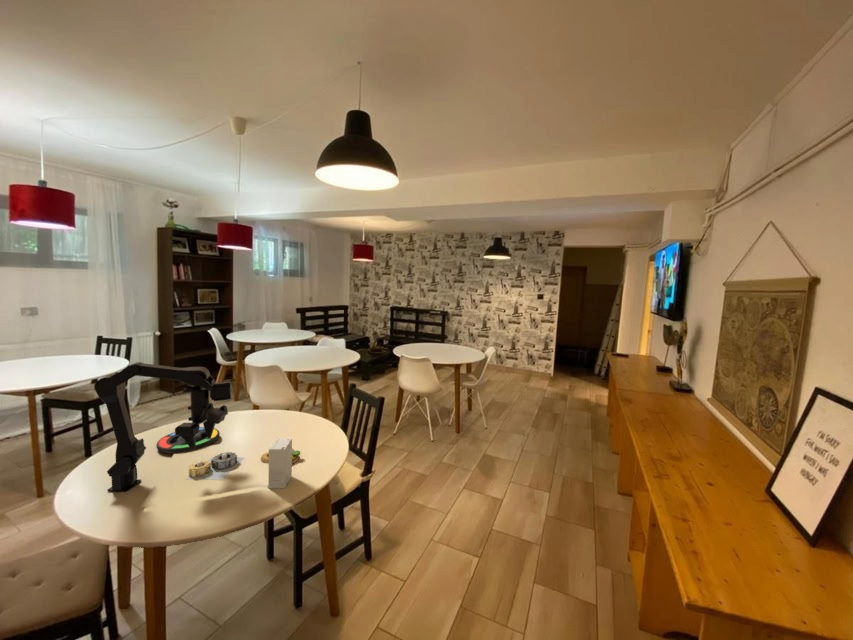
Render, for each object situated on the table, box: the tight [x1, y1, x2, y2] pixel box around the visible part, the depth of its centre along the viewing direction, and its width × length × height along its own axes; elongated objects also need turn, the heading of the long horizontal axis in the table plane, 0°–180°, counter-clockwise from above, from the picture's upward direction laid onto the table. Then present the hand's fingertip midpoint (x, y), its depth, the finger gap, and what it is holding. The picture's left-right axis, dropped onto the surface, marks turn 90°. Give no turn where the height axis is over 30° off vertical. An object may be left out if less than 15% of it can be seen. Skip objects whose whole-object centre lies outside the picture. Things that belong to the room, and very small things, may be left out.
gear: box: [210, 451, 238, 470], centre depth 131 cm, size 9×9×3 cm
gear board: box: [185, 454, 245, 481], centre depth 128 cm, size 16×13×5 cm
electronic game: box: [155, 426, 221, 455], centre depth 150 cm, size 23×23×5 cm
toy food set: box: [260, 447, 301, 465], centre depth 138 cm, size 13×13×3 cm
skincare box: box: [267, 438, 293, 489], centre depth 121 cm, size 8×6×15 cm
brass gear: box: [187, 460, 211, 477], centre depth 125 cm, size 7×7×3 cm
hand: (201, 443), depth 125 cm, fingers open, 9 cm apart
